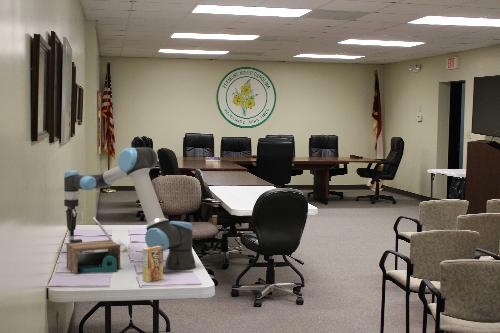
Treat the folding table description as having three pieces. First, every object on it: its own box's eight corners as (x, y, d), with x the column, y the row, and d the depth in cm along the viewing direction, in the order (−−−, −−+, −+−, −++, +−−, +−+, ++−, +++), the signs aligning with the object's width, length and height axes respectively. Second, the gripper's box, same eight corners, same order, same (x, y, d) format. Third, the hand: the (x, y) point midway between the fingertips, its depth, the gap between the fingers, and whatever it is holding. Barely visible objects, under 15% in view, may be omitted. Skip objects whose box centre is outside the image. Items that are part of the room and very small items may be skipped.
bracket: (117, 269, 321) (117, 253, 320) (116, 272, 314) (116, 256, 314) (79, 270, 318) (79, 254, 317) (78, 273, 311) (78, 257, 311)
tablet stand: (95, 253, 357) (95, 223, 356) (89, 245, 380) (89, 216, 379) (128, 252, 364) (128, 222, 363) (120, 244, 387) (120, 215, 386)
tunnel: (120, 269, 320) (120, 245, 319) (75, 274, 308) (75, 249, 307) (109, 263, 333) (109, 239, 332) (66, 267, 322) (66, 243, 321)
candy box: (157, 277, 304) (157, 245, 303) (163, 279, 301) (163, 246, 300) (142, 280, 298) (142, 248, 297) (148, 282, 295) (148, 249, 294)
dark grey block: (109, 264, 329) (109, 246, 329) (71, 268, 319) (71, 249, 319) (92, 254, 352) (92, 237, 352) (56, 257, 342) (56, 240, 342)
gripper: (81, 200, 347) (81, 243, 349) (74, 197, 358) (74, 239, 360) (67, 200, 343) (67, 244, 345) (61, 197, 354) (61, 240, 356)
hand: (71, 241), depth 353 cm, fingers closed
